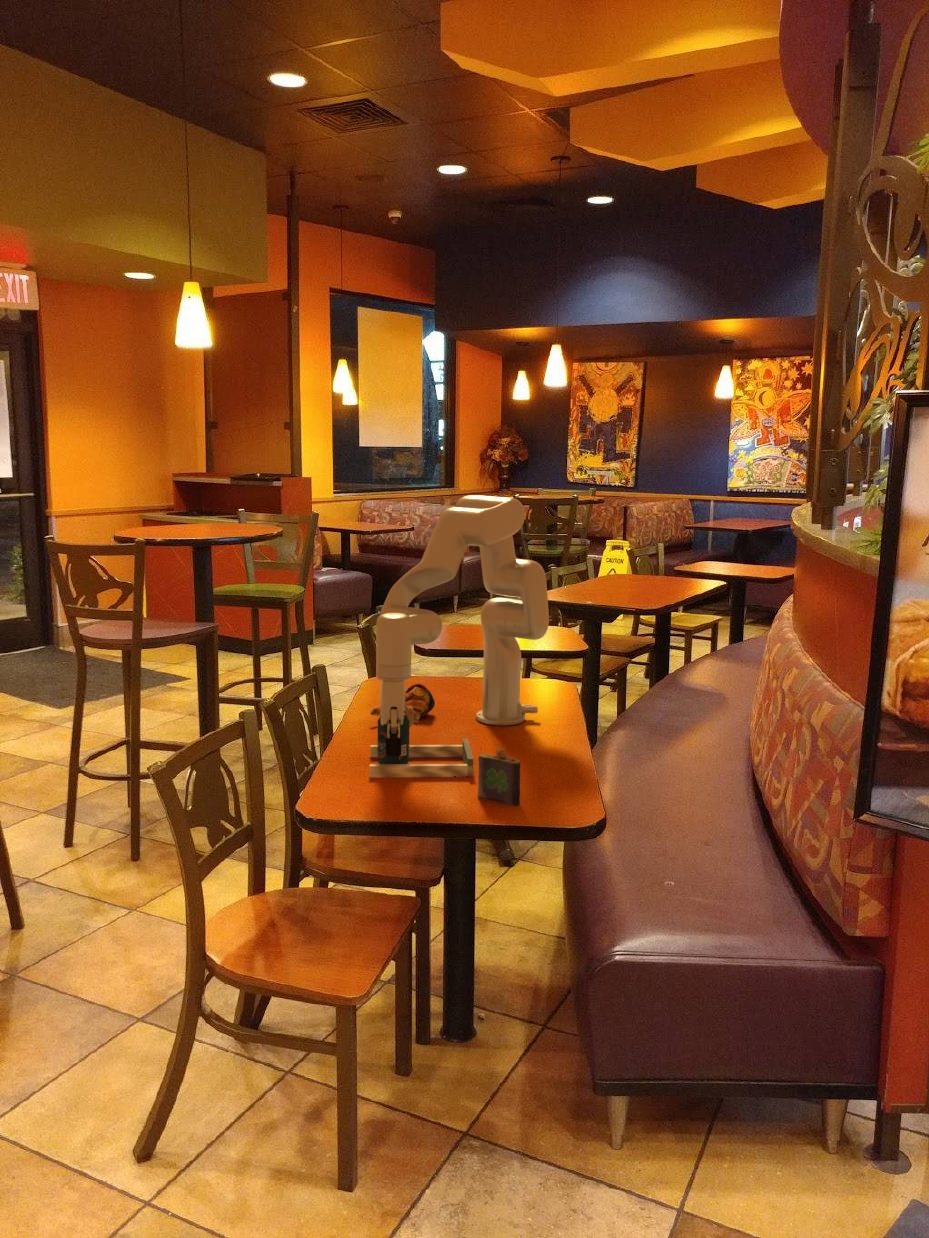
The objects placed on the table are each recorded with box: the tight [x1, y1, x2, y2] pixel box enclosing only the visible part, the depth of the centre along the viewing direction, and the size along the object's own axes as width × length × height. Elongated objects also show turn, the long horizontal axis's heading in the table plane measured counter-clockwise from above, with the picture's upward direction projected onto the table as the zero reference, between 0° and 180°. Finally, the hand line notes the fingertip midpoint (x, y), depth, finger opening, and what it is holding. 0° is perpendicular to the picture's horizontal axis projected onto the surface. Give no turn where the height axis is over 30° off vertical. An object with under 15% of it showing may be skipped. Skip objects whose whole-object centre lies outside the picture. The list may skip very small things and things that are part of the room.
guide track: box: [368, 737, 474, 779], centre depth 214 cm, size 22×14×4 cm, turn 95°
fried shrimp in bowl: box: [370, 683, 436, 718], centre depth 249 cm, size 9×11×18 cm
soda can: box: [376, 711, 410, 764], centre depth 213 cm, size 7×7×12 cm
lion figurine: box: [404, 706, 421, 730], centre depth 234 cm, size 15×5×9 cm, turn 35°
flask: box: [477, 748, 521, 807], centre depth 194 cm, size 9×3×11 cm, turn 59°
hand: (393, 749), depth 213 cm, fingers closed on soda can, 7 cm apart
